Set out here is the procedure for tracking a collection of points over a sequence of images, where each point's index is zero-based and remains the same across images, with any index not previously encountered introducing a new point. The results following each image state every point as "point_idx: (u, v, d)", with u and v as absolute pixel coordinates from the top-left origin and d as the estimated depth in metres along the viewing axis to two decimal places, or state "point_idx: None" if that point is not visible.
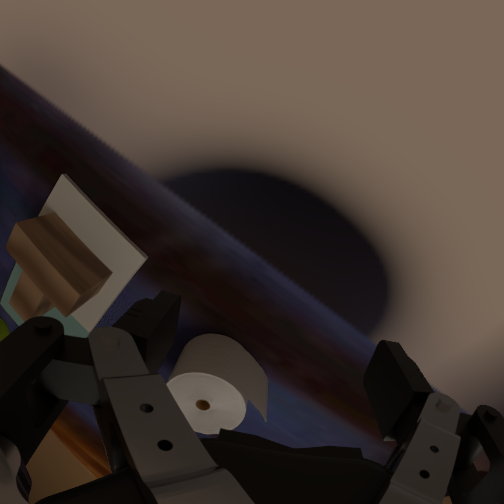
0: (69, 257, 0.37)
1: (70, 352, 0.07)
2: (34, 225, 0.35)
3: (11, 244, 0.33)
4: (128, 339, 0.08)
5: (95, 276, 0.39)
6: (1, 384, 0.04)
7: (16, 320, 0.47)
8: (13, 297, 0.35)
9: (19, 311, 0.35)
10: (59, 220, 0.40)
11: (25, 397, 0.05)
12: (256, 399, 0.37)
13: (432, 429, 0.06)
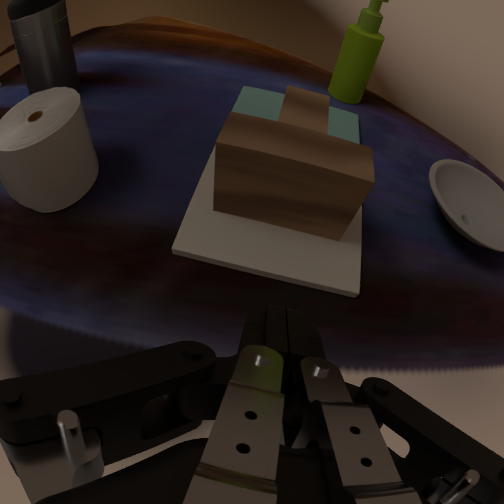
0: (271, 188, 0.28)
1: (221, 374, 0.08)
2: (348, 200, 0.27)
3: (364, 155, 0.26)
4: (276, 355, 0.09)
5: (223, 187, 0.29)
6: (116, 388, 0.06)
7: None
8: (325, 103, 0.29)
9: (307, 93, 0.30)
10: (325, 233, 0.31)
11: (140, 408, 0.06)
12: None
13: (338, 408, 0.06)
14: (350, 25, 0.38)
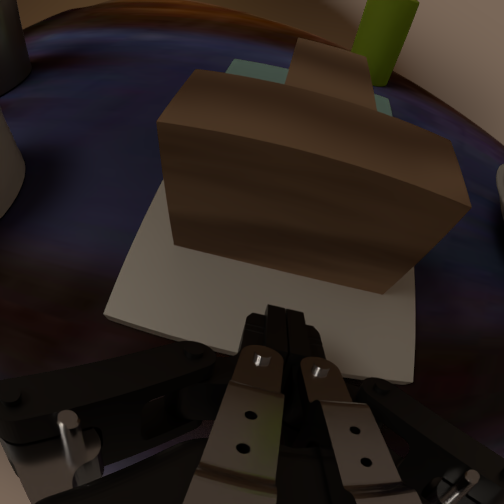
0: (274, 212, 0.14)
1: (221, 374, 0.08)
2: (415, 235, 0.13)
3: (443, 152, 0.13)
4: (276, 355, 0.09)
5: (184, 209, 0.16)
6: (116, 388, 0.06)
7: None
8: (361, 65, 0.16)
9: (332, 50, 0.16)
10: (362, 283, 0.18)
11: (140, 408, 0.06)
12: None
13: (338, 408, 0.06)
14: None
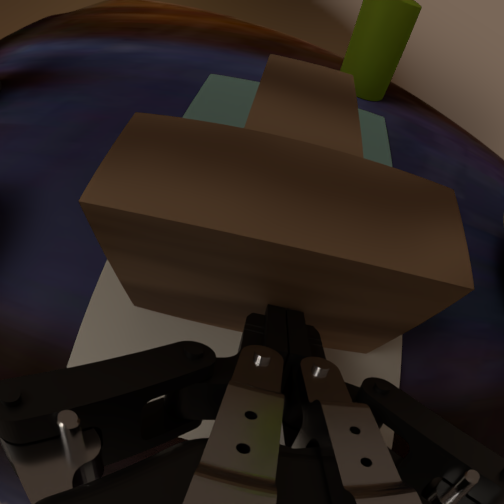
0: (233, 291, 0.12)
1: (221, 374, 0.08)
2: (403, 313, 0.11)
3: (445, 210, 0.10)
4: (276, 355, 0.09)
5: (134, 280, 0.13)
6: (116, 388, 0.06)
7: None
8: (347, 87, 0.14)
9: (311, 68, 0.14)
10: (343, 346, 0.16)
11: (140, 408, 0.06)
12: None
13: (338, 408, 0.06)
14: None
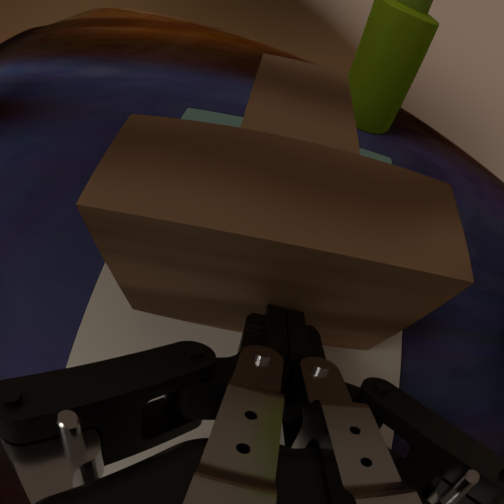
0: (233, 291, 0.12)
1: (221, 373, 0.08)
2: (404, 309, 0.11)
3: (442, 205, 0.10)
4: (276, 355, 0.09)
5: (133, 284, 0.13)
6: (116, 388, 0.06)
7: None
8: (341, 85, 0.14)
9: (305, 67, 0.14)
10: (343, 343, 0.16)
11: (140, 408, 0.06)
12: None
13: (338, 408, 0.06)
14: None
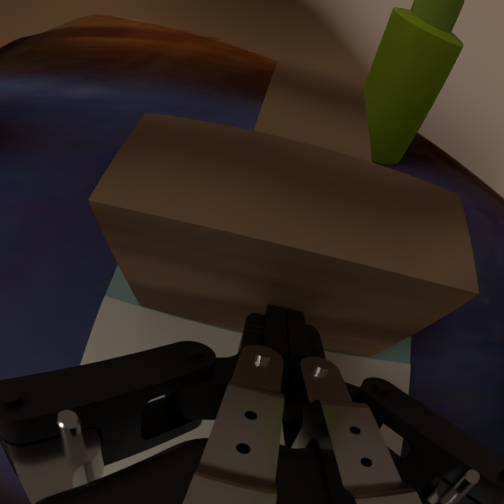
0: (240, 292, 0.12)
1: (221, 374, 0.08)
2: (409, 317, 0.11)
3: (451, 215, 0.10)
4: (276, 355, 0.09)
5: (141, 280, 0.13)
6: (116, 388, 0.06)
7: None
8: (355, 91, 0.14)
9: (320, 72, 0.14)
10: (348, 349, 0.16)
11: (140, 408, 0.06)
12: None
13: (338, 408, 0.06)
14: (398, 10, 0.16)
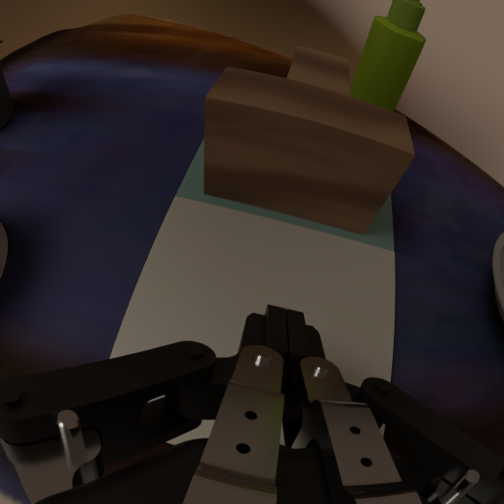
0: (279, 162, 0.21)
1: (221, 374, 0.08)
2: (379, 179, 0.20)
3: (397, 122, 0.19)
4: (276, 355, 0.09)
5: (216, 162, 0.22)
6: (116, 388, 0.06)
7: None
8: (344, 65, 0.22)
9: (322, 55, 0.23)
10: (346, 224, 0.24)
11: (140, 408, 0.06)
12: None
13: (338, 408, 0.06)
14: (377, 18, 0.24)
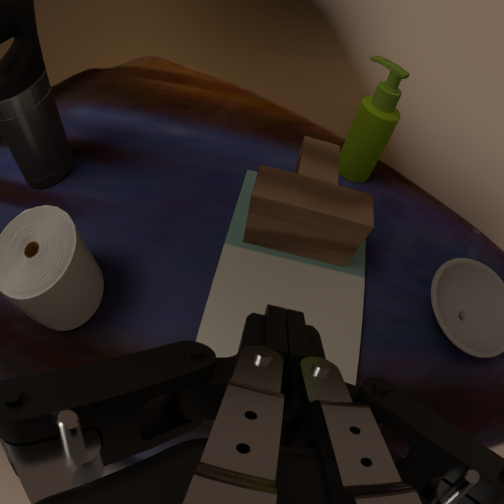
0: (292, 228, 0.35)
1: (221, 374, 0.08)
2: (352, 238, 0.34)
3: (366, 202, 0.33)
4: (276, 355, 0.09)
5: (253, 226, 0.36)
6: (116, 388, 0.06)
7: None
8: (335, 153, 0.37)
9: (321, 144, 0.37)
10: (333, 261, 0.39)
11: (140, 408, 0.06)
12: None
13: (338, 408, 0.06)
14: (364, 101, 0.39)
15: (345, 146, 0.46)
